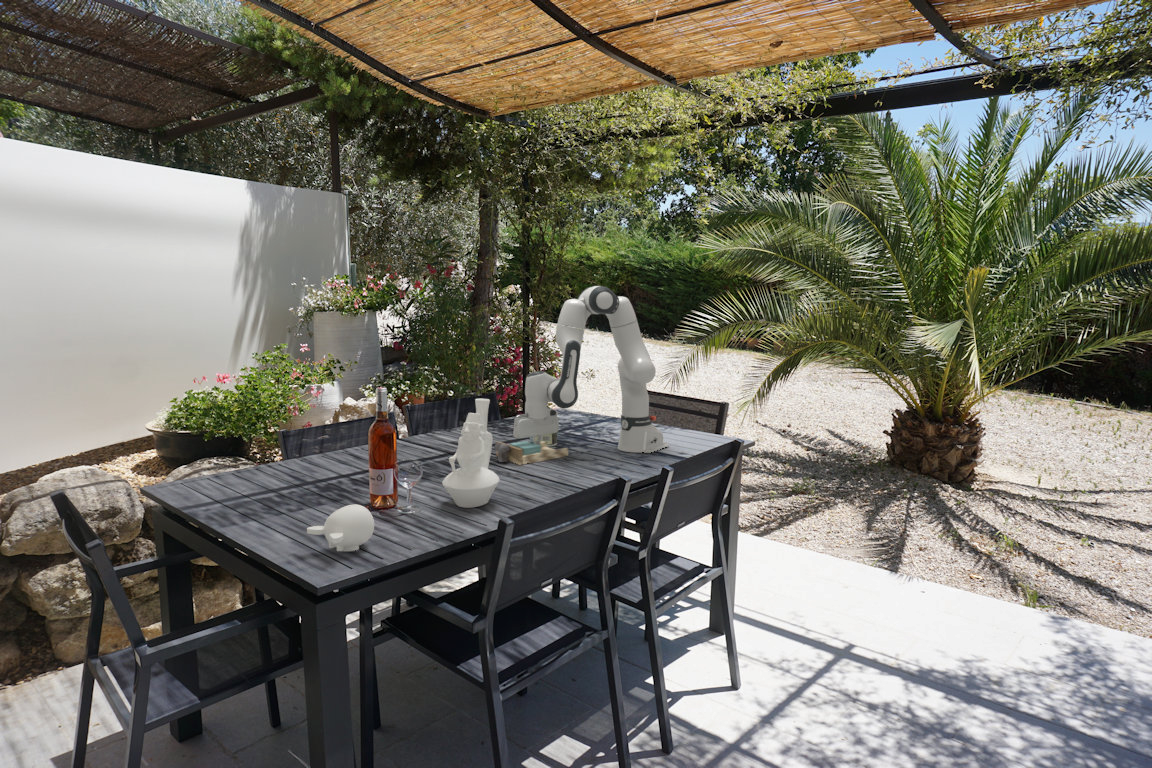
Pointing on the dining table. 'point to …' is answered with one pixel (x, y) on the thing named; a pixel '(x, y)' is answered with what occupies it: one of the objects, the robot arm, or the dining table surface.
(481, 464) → the white sculpted vase
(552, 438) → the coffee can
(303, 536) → the dining table surface
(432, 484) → the dining table surface
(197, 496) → the dining table surface
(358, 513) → the piggy bank
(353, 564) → the dining table surface
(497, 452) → the bay
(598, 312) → the robot arm
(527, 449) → the teal rectangular box
